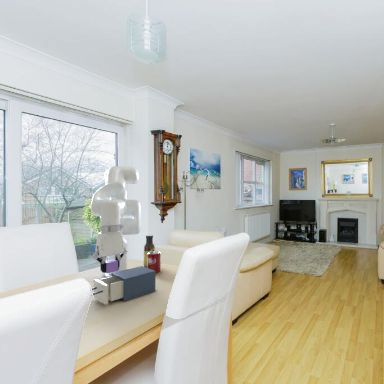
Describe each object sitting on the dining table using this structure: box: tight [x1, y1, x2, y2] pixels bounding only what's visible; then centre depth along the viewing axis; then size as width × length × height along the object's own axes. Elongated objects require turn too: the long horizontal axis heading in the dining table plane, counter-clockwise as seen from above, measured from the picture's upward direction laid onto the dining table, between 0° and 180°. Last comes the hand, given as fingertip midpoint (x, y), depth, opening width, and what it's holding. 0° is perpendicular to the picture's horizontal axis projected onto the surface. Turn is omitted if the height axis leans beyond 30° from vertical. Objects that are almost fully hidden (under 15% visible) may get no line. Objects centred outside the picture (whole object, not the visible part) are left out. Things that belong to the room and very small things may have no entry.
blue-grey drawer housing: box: [111, 265, 156, 302], centre depth 122 cm, size 15×13×10 cm
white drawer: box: [91, 276, 124, 306], centre depth 113 cm, size 19×11×8 cm, turn 142°
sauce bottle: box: [143, 234, 156, 268], centre depth 160 cm, size 6×6×20 cm
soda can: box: [147, 250, 162, 276], centre depth 149 cm, size 7×7×12 cm
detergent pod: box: [105, 259, 118, 273], centre depth 113 cm, size 4×4×4 cm
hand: (110, 270), depth 113 cm, fingers closed on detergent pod, 4 cm apart
